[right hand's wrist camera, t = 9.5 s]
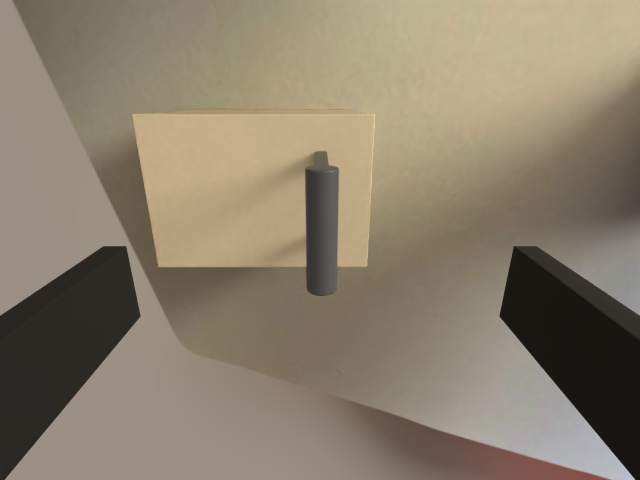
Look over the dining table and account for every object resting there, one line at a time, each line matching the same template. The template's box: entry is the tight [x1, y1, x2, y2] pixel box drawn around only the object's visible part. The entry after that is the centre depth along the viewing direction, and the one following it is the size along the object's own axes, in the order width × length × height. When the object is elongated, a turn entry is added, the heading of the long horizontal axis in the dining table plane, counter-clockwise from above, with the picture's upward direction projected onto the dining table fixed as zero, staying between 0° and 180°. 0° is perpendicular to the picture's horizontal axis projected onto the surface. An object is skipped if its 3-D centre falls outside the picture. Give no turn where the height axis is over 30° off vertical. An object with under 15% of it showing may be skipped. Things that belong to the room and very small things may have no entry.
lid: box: [132, 114, 375, 296], centre depth 21 cm, size 15×10×8 cm
